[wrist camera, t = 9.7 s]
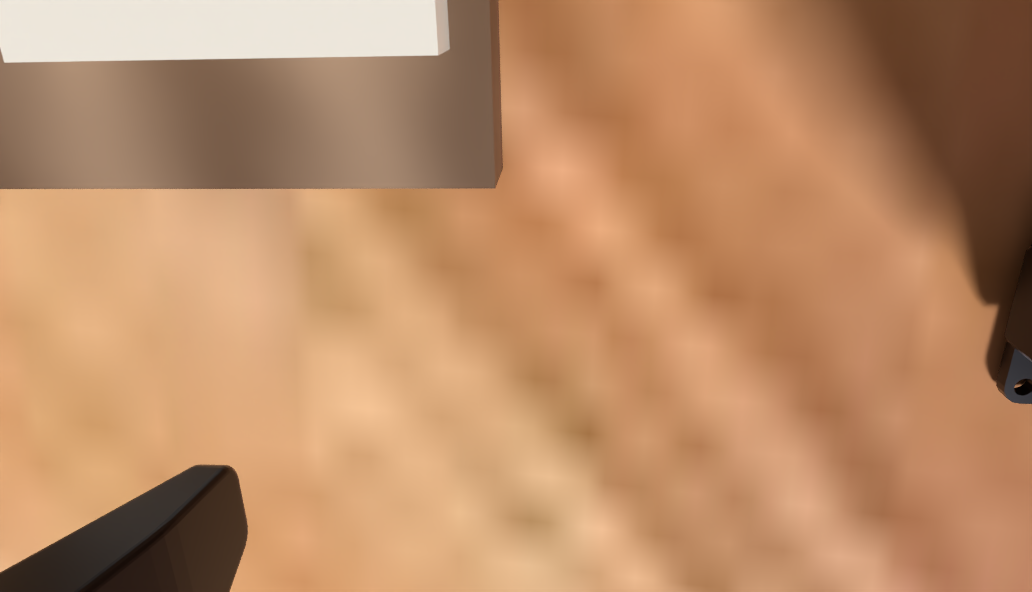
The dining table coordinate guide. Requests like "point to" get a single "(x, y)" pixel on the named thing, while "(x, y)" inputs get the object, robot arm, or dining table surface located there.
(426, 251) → the dining table surface
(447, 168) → the peg board
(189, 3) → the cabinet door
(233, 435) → the dining table surface
